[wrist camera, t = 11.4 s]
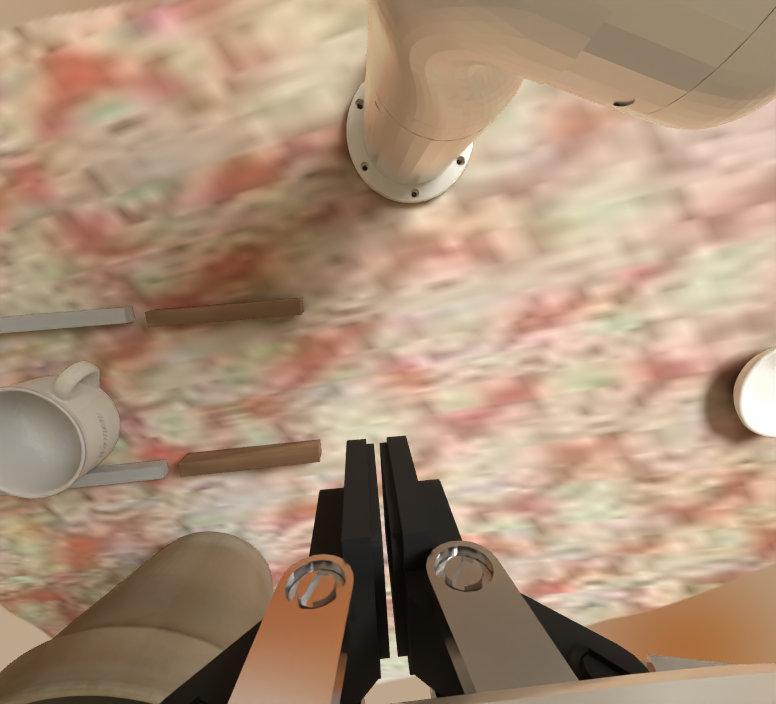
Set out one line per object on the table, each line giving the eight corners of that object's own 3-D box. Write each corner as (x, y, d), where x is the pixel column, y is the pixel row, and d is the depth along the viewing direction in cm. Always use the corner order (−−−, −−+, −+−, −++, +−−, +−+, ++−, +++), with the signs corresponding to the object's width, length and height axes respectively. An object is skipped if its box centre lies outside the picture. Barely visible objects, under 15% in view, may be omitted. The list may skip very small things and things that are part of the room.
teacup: (89, 476, 44) (32, 521, 36) (5, 411, 42) (-75, 445, 34) (174, 395, 43) (134, 425, 35) (93, 323, 40) (30, 338, 33)
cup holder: (157, 309, 41) (145, 312, 38) (302, 297, 41) (299, 299, 39) (190, 465, 45) (180, 476, 42) (321, 451, 46) (319, 461, 43)
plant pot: (136, 676, 51) (-20, 972, 30) (75, 512, 45) (-172, 733, 24) (327, 641, 52) (308, 900, 31) (292, 477, 46) (239, 657, 25)
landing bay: (-43, 320, 39) (-59, 322, 38) (131, 306, 40) (123, 308, 39) (12, 488, 44) (1, 495, 42) (168, 471, 45) (162, 478, 43)
